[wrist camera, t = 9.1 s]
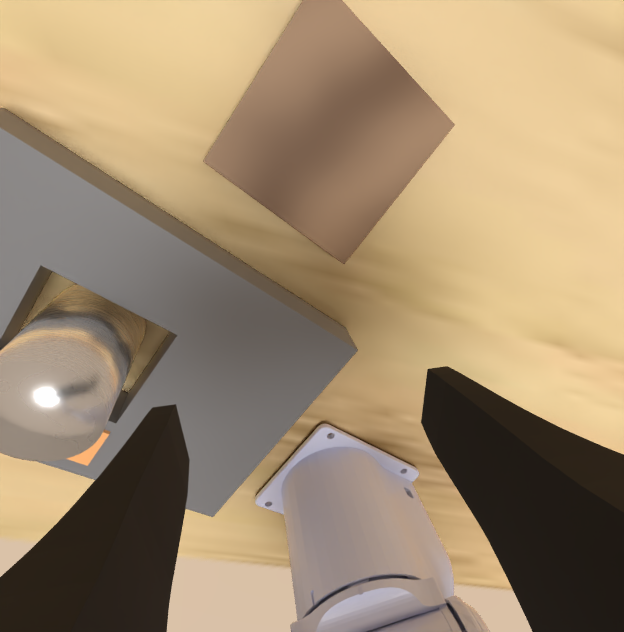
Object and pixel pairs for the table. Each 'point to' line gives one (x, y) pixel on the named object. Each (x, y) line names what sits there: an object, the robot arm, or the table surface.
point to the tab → (329, 129)
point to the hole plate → (163, 313)
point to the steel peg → (65, 375)
